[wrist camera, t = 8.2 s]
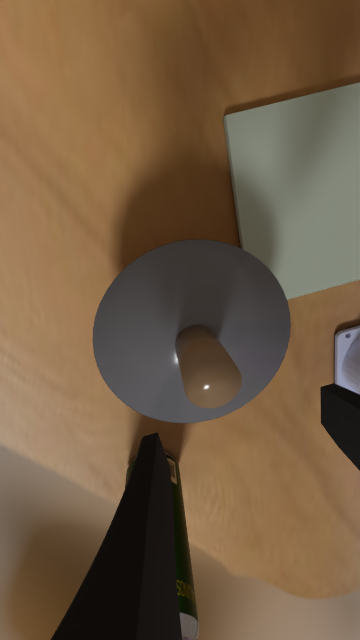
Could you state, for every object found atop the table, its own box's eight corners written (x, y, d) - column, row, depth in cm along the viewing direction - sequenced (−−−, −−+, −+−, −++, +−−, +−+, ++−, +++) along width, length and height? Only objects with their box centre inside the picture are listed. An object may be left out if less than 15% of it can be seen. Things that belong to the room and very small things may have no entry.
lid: (282, 221, 13) (354, 212, 8) (284, 393, 17) (332, 449, 13) (66, 262, 12) (17, 277, 8) (125, 431, 16) (115, 504, 12)
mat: (413, 72, 15) (421, 66, 14) (393, 267, 20) (399, 268, 19) (223, 119, 15) (225, 115, 14) (249, 307, 19) (251, 309, 19)
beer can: (135, 442, 23) (120, 643, 11) (185, 450, 24) (217, 639, 13) (121, 480, 24) (96, 690, 13) (169, 486, 25) (184, 683, 14)
